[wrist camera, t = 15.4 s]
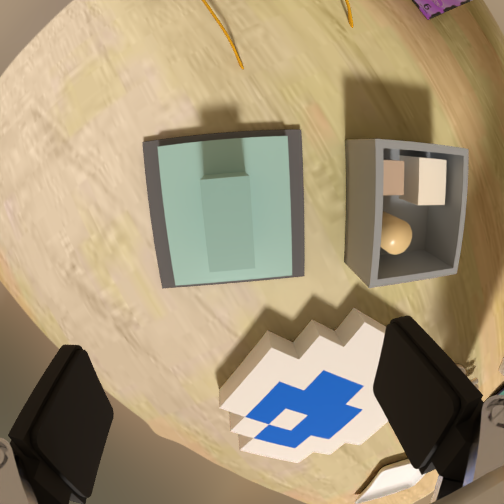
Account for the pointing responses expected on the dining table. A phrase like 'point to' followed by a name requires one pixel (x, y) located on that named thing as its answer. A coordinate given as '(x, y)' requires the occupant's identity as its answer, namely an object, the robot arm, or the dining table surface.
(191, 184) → the lid
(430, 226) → the storage box
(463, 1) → the candy box
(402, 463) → the salad plate
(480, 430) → the robot arm
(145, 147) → the mat
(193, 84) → the dining table surface
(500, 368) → the skincare box
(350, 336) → the pixel art tile
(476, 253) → the dining table surface
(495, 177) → the dining table surface
